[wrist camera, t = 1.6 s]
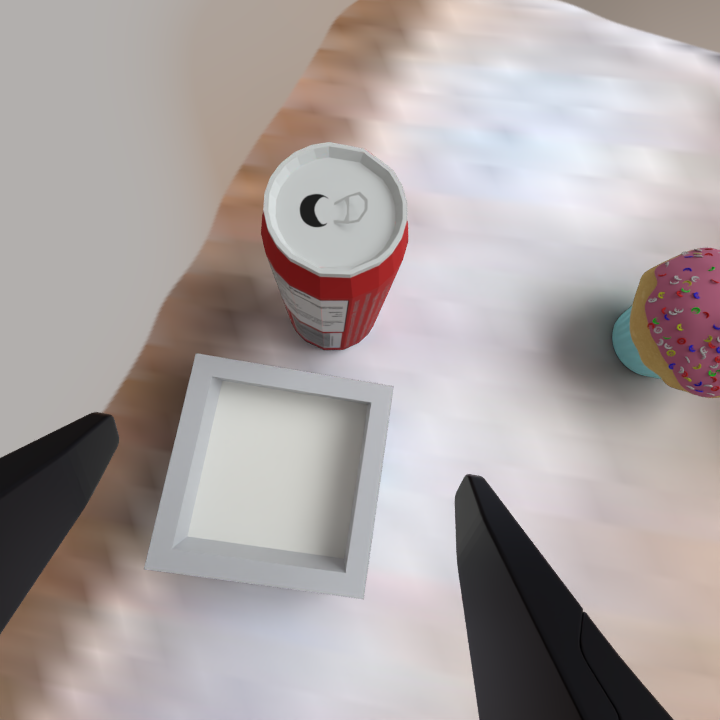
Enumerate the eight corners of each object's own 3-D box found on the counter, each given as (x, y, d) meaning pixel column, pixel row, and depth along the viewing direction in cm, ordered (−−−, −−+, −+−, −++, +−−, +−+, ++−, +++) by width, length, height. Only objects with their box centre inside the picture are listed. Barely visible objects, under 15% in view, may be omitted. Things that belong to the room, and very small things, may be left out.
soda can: (376, 271, 25) (418, 135, 13) (375, 352, 24) (420, 283, 12) (291, 267, 24) (256, 122, 13) (287, 350, 24) (246, 276, 12)
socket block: (356, 563, 22) (363, 599, 17) (182, 539, 21) (143, 569, 17) (381, 393, 24) (393, 386, 19) (221, 366, 23) (195, 353, 19)
